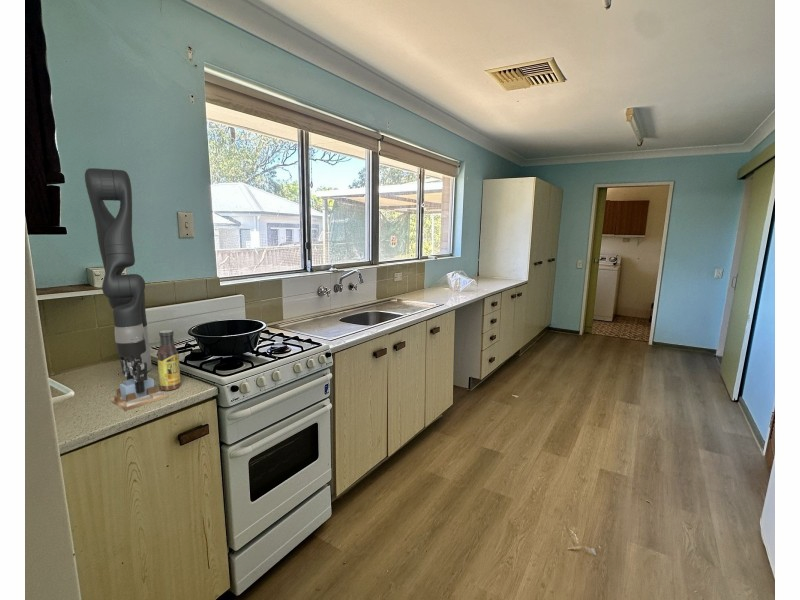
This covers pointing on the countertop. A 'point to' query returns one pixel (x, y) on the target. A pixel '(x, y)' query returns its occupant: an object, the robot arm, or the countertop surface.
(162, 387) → the sauce bottle
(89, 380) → the countertop surface
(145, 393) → the light blue block
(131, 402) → the jig
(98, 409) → the countertop surface
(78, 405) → the countertop surface
